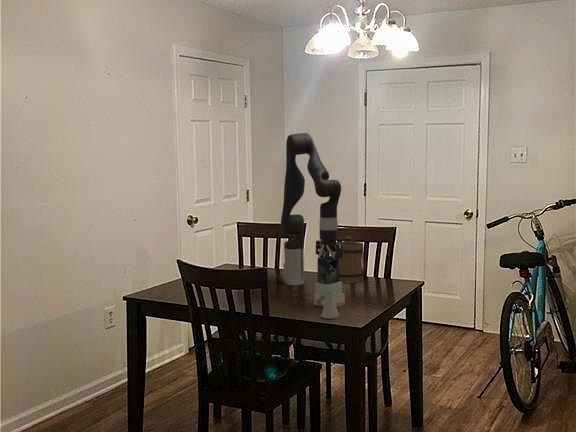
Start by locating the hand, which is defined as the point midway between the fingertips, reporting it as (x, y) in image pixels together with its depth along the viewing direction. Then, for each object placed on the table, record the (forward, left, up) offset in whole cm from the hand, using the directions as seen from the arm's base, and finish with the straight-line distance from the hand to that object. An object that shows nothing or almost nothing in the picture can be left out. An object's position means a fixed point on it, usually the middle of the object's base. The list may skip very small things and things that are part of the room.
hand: (328, 266), depth 270 cm
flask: (+14, -12, -16) cm, 25 cm away
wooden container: (-29, +38, -16) cm, 51 cm away
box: (0, 0, -7) cm, 7 cm away
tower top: (0, 0, -11) cm, 11 cm away
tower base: (0, 0, -16) cm, 16 cm away
